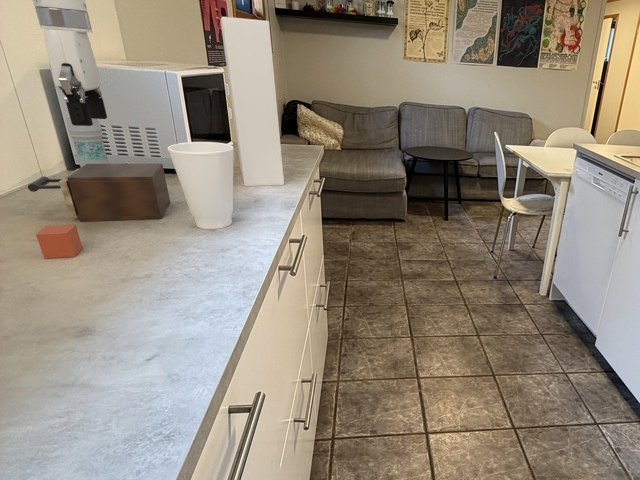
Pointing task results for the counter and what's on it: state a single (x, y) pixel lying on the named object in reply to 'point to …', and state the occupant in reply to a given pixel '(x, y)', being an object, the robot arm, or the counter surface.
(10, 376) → the counter surface
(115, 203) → the cabinet
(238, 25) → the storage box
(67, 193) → the drawer
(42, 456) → the counter surface
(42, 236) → the block
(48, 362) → the counter surface
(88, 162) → the bottle
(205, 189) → the cup
